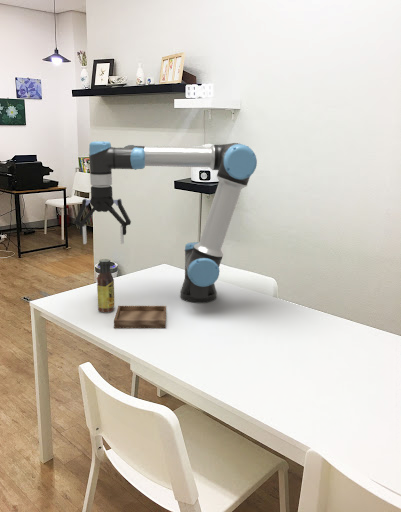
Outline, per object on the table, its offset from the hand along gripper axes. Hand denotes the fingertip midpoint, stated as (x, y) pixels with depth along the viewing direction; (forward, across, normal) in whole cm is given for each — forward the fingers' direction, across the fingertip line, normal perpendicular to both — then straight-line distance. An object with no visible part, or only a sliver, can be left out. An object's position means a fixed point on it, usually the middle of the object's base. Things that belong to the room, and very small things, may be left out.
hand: (103, 243), depth 181 cm
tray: (+26, -14, +10) cm, 32 cm away
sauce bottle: (+27, 0, 0) cm, 27 cm away
